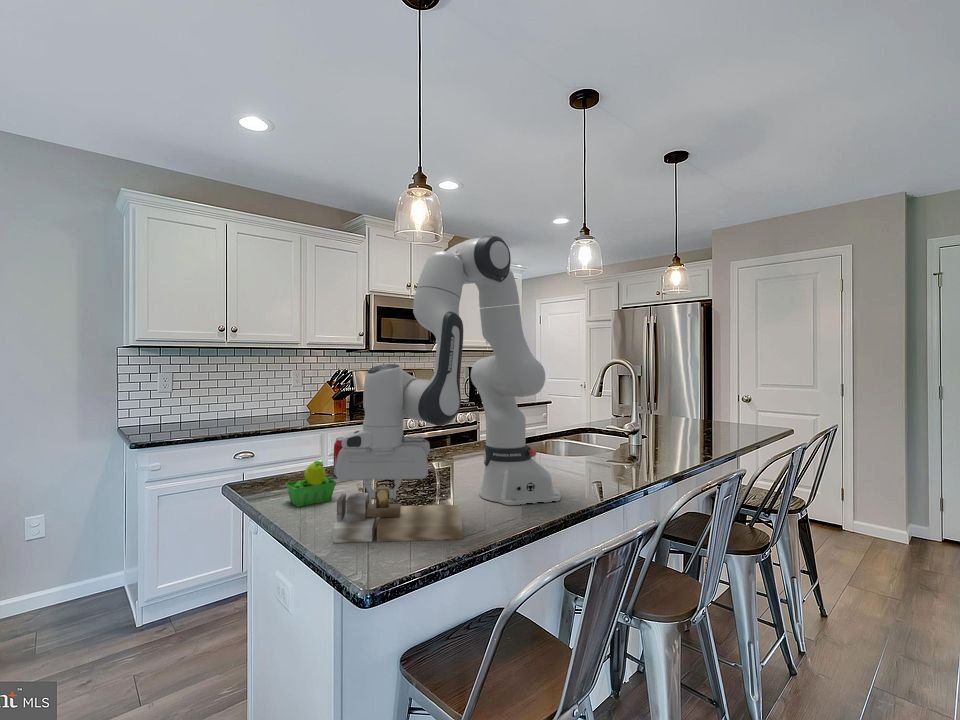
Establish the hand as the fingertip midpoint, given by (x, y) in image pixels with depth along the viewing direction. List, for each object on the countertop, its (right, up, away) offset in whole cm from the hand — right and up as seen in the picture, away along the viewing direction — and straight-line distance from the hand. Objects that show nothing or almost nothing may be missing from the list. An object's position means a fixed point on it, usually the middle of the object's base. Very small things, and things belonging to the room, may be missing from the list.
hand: (382, 498), depth 109 cm
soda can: (-21, -6, +47) cm, 52 cm away
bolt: (-2, -4, 0) cm, 4 cm away
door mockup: (+3, -7, 0) cm, 8 cm away
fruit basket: (-23, -7, +20) cm, 31 cm away
